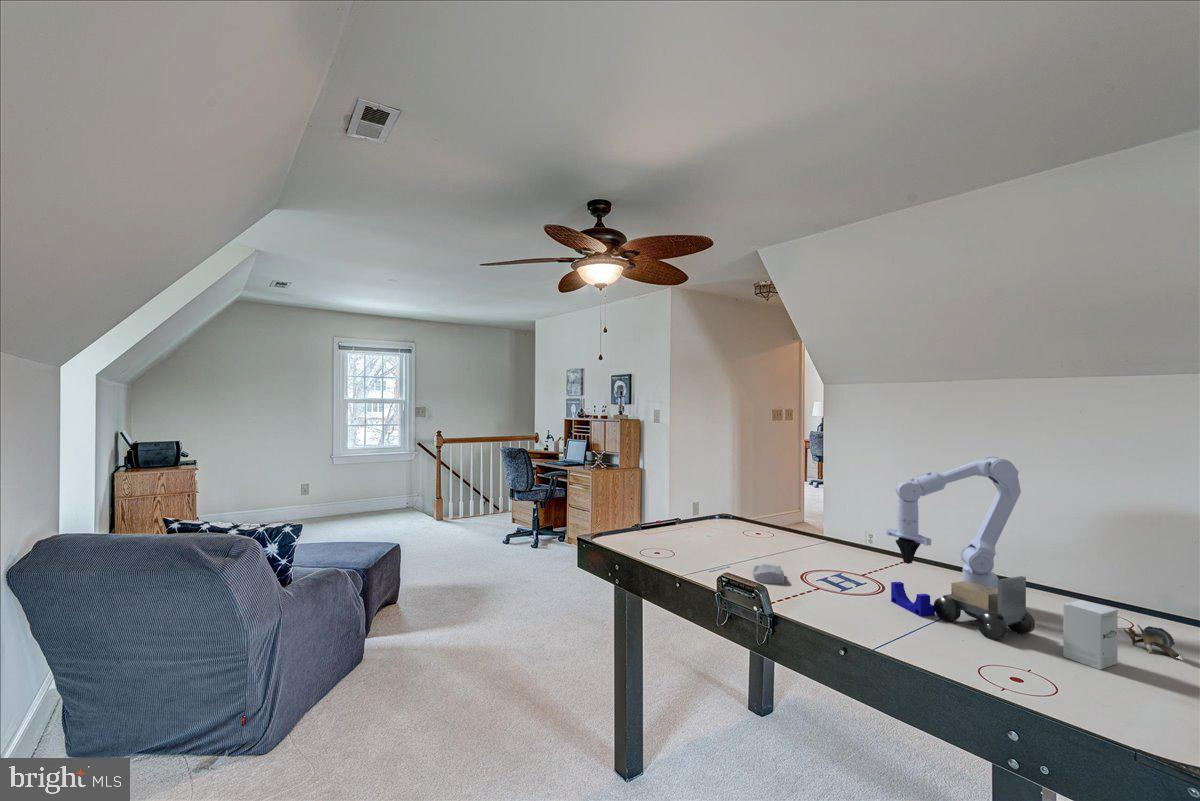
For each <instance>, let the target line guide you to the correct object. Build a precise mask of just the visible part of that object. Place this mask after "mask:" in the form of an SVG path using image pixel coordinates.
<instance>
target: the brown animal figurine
mask: <svg viewBox="0 0 1200 801" xmlns="http://www.w3.org/2000/svg"><path fill="white" fill-rule="evenodd" d="M1136 626H1137V627H1138V629H1139V630H1140V632H1141V633H1136V631H1135V630H1134V629H1133V628H1132V627H1129V628H1128V629H1127V630H1126V628H1124V627H1123V632H1125V633H1126V635H1127V636H1128V637H1129V638H1130V640H1131V644H1134V645H1133V646H1136V645H1137V644H1139V643H1144V645H1145V647H1146V650H1147V653H1148V652H1149V653H1148V654H1150V653H1152V652H1153V647H1157V648H1159V649H1161V650H1163V651H1164V652H1165V653H1167V654H1168V655H1169V656H1170V657H1171V658H1173V659H1174V658H1176V657H1178V656H1179V655H1180V654H1179V653H1178V652H1177V650H1175V649H1174V648H1173V647H1174V646H1175V644H1176V643H1175V639H1174V638H1173V636H1172V635H1171V634H1170V633H1169V632H1168V631H1167V630H1165V629H1164V628H1162V627H1155V626H1151V625H1150V626H1146V627H1145V628H1142V627H1141V626H1140V625H1139V624H1136ZM1136 638H1139V639H1136Z"/></svg>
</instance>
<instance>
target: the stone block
mask: <svg viewBox="0 0 1200 801" xmlns="http://www.w3.org/2000/svg"><path fill="white" fill-rule="evenodd" d="M752 575H753V578H754V580H755V581H756V582H757V583H760V584H771V585H772V584H775V585H784V584H785V572H784V570H783V569H782V566H781V565H773V564H759V565H754V566H753V570H752Z"/></svg>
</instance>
